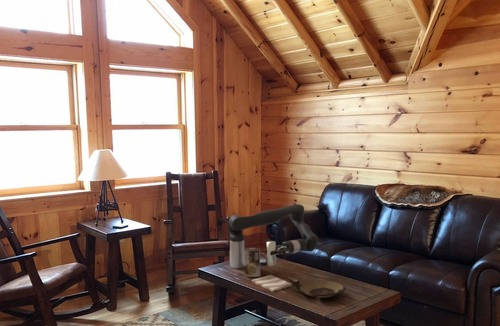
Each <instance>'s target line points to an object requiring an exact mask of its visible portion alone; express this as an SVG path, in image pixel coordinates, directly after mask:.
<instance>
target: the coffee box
mask: <svg viewBox="0 0 500 326" xmlns="http://www.w3.org/2000/svg"><path fill="white" fill-rule="evenodd" d="M244 259H245V266H244V272H245V273H244V277H252V278H253V277H255V278H256V277H257V278H258V277H259V278H261V248H260V247H245V248H244Z"/></svg>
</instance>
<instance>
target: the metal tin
mask: <svg viewBox="0 0 500 326" xmlns="http://www.w3.org/2000/svg"><path fill="white" fill-rule="evenodd" d="M276 243H277V242H276V241H275V240H268V241H266V249H267V253H266V265H267V266H269V267H274V266H276V265H277V256H276V254H275V255H270V251H274V250H276V246H277V245H276Z"/></svg>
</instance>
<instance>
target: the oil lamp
mask: <svg viewBox="0 0 500 326" xmlns="http://www.w3.org/2000/svg"><path fill="white" fill-rule="evenodd" d="M287 280H288V281H289V283H291V284H292V285H293V286H294V287H295V288H296V289H297V291H300V292H301V293H303V294H304V295H306V296H309V297H313V298H318V299H326V298H331V297H334V296H336V295H339V294H342V293H344V292H345V291H346V289H347V288H346V287H345V286H344V285H342V283H339V282H337V281H332V280H314V281H313V280H312V281H307V282H305V283H302V284H301V282H300V279H293V278H291V277H289V276H288V277H287Z"/></svg>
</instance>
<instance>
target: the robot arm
mask: <svg viewBox="0 0 500 326" xmlns="http://www.w3.org/2000/svg"><path fill="white" fill-rule="evenodd" d="M304 207H305V206H304V205H302V204H297V203H296V204H290V205H287V206H284V207H280V208H274V209H269V210H263V211H260V212H257V213H255V214H253V215H248V216H240V215H238V214H233V215H231V216H230V217H229V218H228V235H229V266H230V268H232V269H242V268H245V235H244V233H243V230H246V229H250V228H255V227H261V226H262V227H263V226H267V225H273V224H275V223H277V222H279V221H280V220H281V219H283V218H284V217H285V216H287V215H289V218H290V220H291V221H290V222H292V223H293V224H294V225H295V227H296V229H298V231H299V233H300V235H301V237H302V238H298V239H293V240H286V241H283V242H281V244H280V245H279V244H278V245H276V250H274V251H270V255H275V254H276V255H279V256H282V255H284V256H289V255H291V254H296V253H298V252H310V253H311V252H314V251H315V250H316V247H317V244H318V242H319V237H318V235H316V234H315V233H314V232H313V231H312V230H311V227H310V225H308V224H307V223H306V222H305V221H304V214H305V208H304ZM263 251H264V254H267V248H264V250H263Z"/></svg>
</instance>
